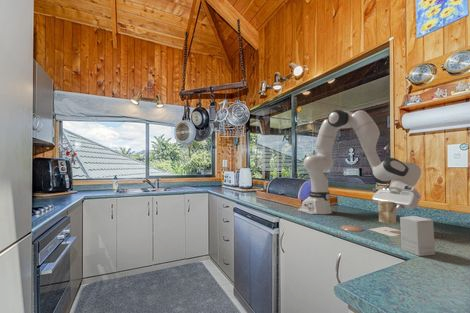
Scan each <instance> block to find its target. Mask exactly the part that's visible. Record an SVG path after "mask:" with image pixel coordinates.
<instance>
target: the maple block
mask: <svg viewBox="0 0 470 313" xmlns="http://www.w3.org/2000/svg"><path fill="white" fill-rule="evenodd" d="M378 208H379V210H378V222H379V223H384V224H387V225H392V224H396V223H397V213H396V214H392V213H391V209H394V208H396V204H394V202H390V201H378ZM378 208H377V209H378Z"/></svg>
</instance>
